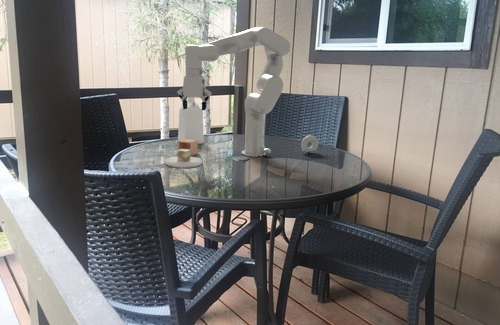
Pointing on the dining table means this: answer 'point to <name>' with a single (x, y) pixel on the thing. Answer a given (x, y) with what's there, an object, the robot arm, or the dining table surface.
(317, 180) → the dining table surface
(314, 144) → the donut
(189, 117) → the milk
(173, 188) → the dining table surface
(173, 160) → the plate
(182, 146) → the cover
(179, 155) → the block
